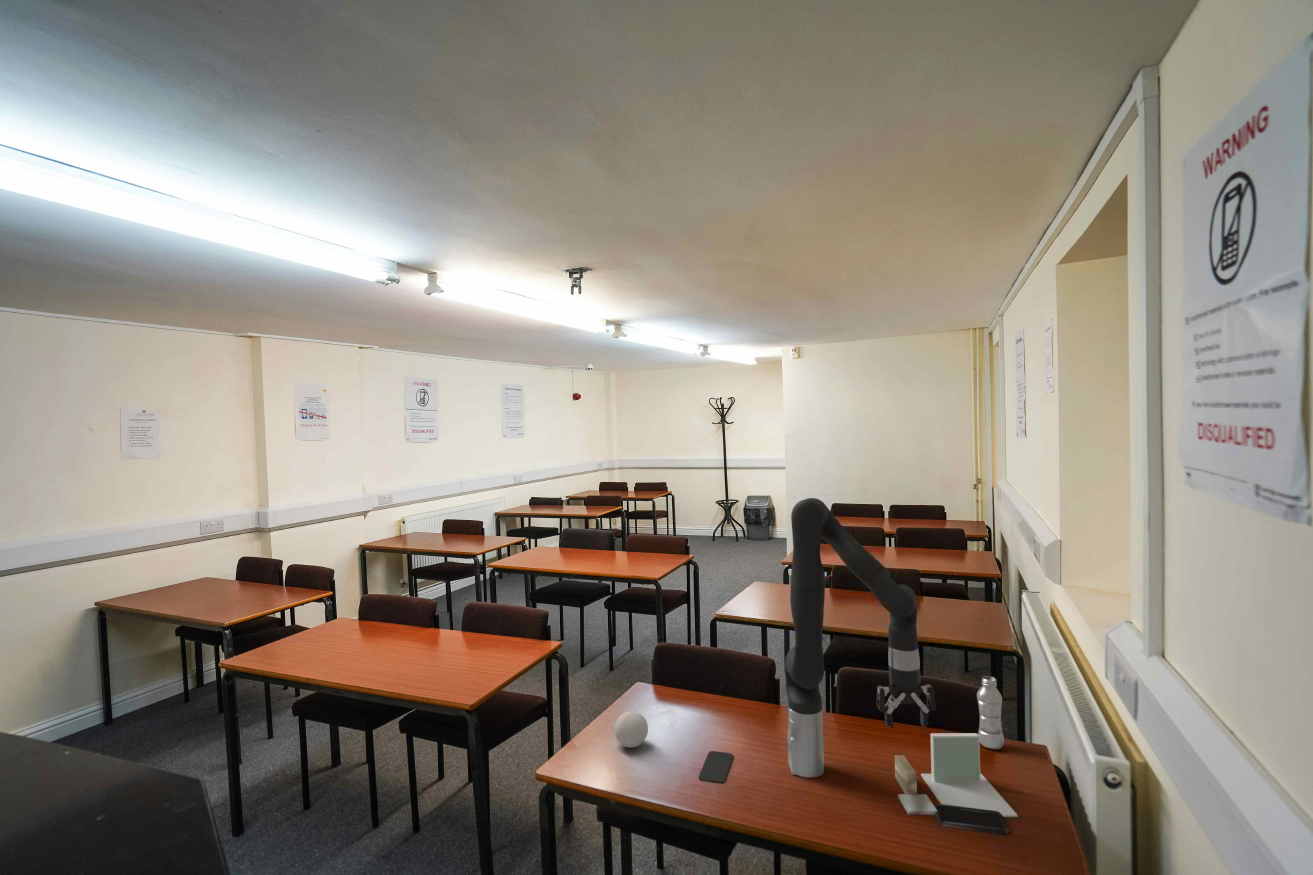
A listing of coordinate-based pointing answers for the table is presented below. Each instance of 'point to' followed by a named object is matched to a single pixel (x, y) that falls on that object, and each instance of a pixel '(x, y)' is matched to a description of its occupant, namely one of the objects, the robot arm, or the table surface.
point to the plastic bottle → (990, 714)
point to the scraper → (911, 789)
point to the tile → (955, 757)
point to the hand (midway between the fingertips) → (906, 726)
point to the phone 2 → (971, 819)
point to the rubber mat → (969, 795)
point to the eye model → (631, 729)
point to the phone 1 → (716, 767)
